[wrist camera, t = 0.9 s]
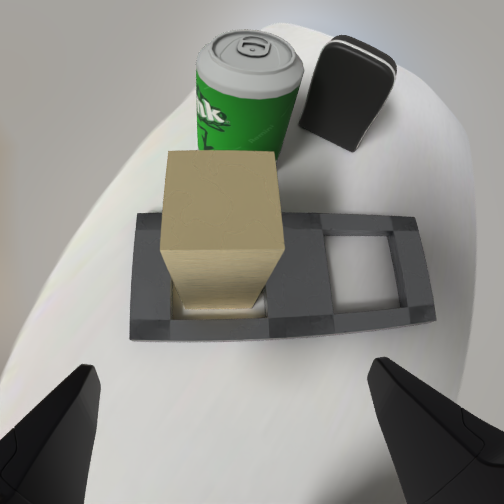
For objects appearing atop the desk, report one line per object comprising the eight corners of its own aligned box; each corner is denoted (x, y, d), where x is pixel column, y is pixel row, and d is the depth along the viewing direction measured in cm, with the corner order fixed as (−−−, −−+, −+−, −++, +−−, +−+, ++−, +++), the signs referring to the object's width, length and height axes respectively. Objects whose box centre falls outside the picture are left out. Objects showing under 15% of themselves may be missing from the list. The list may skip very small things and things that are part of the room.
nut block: (251, 308, 24) (285, 249, 13) (185, 309, 23) (159, 250, 12) (248, 246, 26) (274, 151, 15) (186, 247, 25) (168, 150, 14)
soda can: (281, 133, 31) (308, 35, 20) (272, 193, 28) (306, 90, 17) (208, 120, 30) (211, 19, 19) (189, 178, 28) (181, 70, 16)
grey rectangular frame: (428, 322, 25) (436, 320, 24) (133, 341, 22) (129, 339, 21) (408, 222, 29) (414, 217, 28) (140, 220, 26) (137, 213, 24)
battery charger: (363, 135, 32) (406, 58, 22) (354, 156, 31) (401, 75, 20) (307, 107, 33) (335, 24, 22) (294, 125, 31) (323, 37, 21)
